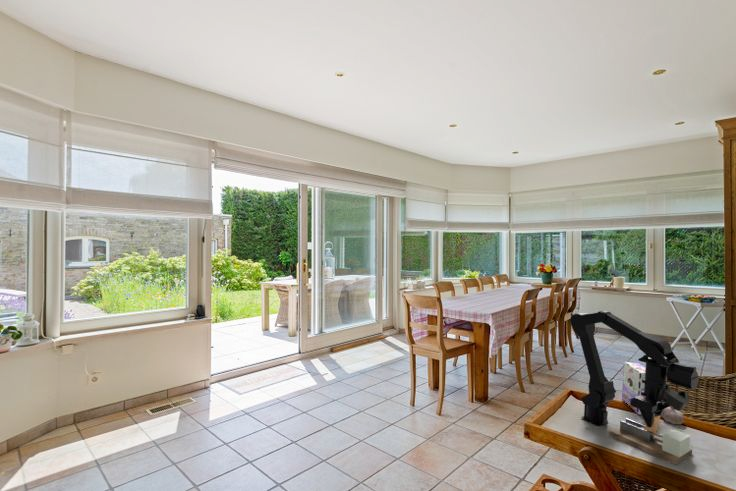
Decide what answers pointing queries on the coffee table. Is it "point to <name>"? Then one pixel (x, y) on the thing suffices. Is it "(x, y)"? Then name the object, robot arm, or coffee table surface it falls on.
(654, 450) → the base board
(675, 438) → the socket block
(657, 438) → the slip rod
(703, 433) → the coffee table surface
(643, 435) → the channel
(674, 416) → the garlic bulb
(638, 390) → the candy box
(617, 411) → the coffee table surface
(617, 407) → the coffee table surface
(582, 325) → the robot arm
